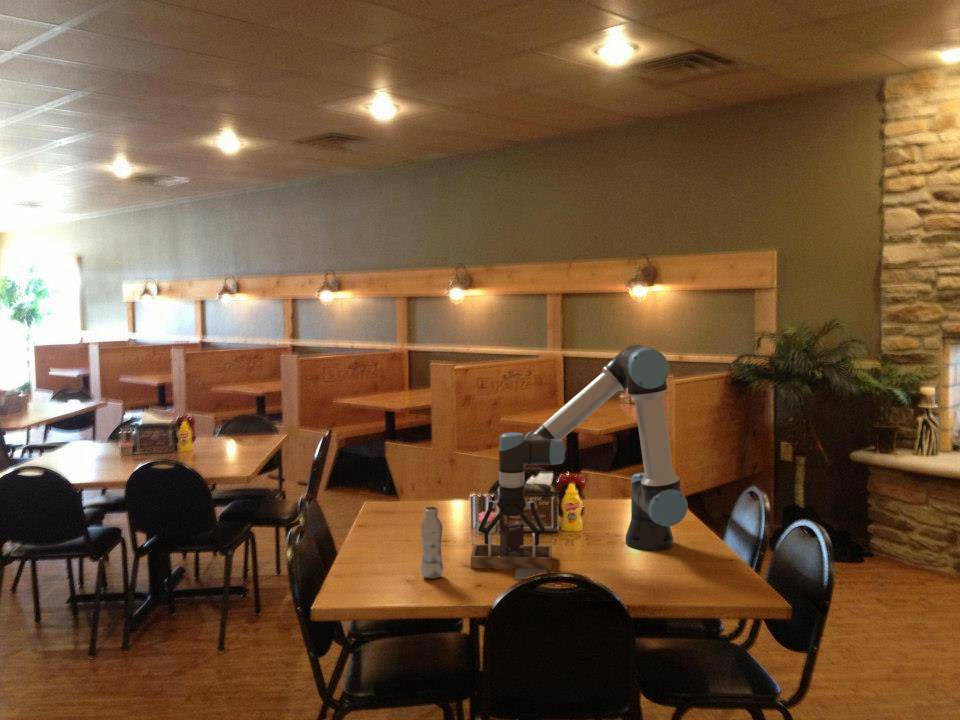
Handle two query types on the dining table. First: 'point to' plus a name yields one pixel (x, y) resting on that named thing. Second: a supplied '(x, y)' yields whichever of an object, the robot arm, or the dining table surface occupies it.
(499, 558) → the brown shallow rectangular container
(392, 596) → the dining table surface
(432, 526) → the plastic bottle
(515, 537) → the box
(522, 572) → the tile
